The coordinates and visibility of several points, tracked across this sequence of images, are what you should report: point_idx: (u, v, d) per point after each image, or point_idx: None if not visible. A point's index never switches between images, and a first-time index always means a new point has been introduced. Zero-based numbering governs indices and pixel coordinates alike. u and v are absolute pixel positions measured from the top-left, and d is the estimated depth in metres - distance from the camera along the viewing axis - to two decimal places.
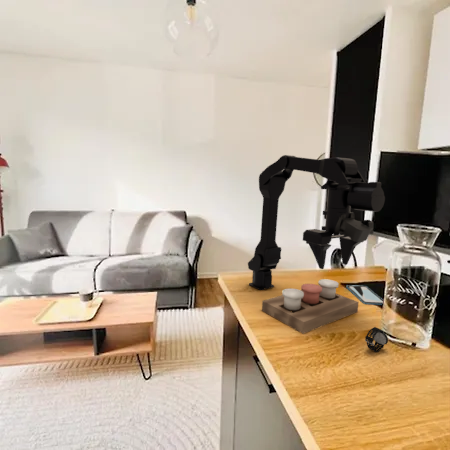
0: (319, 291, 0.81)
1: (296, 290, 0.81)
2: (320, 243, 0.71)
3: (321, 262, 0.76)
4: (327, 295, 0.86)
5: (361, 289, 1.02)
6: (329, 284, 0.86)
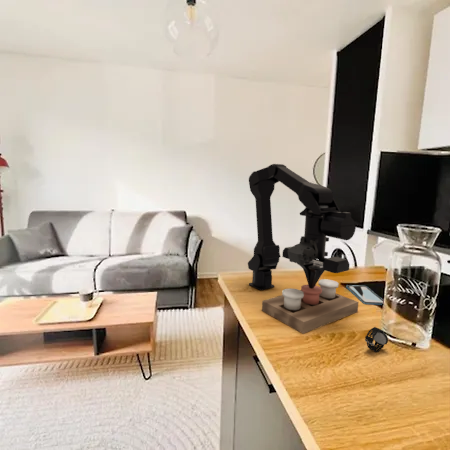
0: (319, 292, 0.82)
1: (296, 290, 0.81)
2: None
3: None
4: (327, 295, 0.86)
5: (361, 289, 1.02)
6: (329, 284, 0.86)
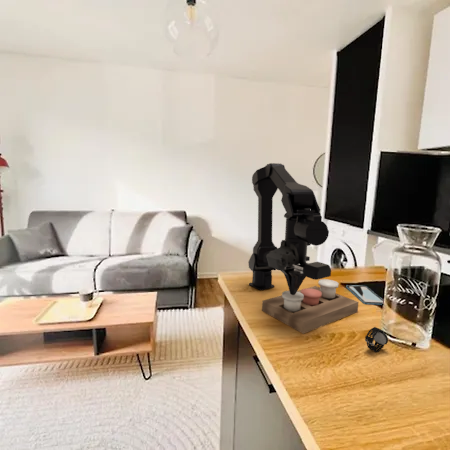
0: (319, 296, 0.82)
1: (296, 292, 0.81)
2: (263, 260, 0.84)
3: None
4: (327, 295, 0.86)
5: (361, 289, 1.02)
6: (329, 284, 0.86)
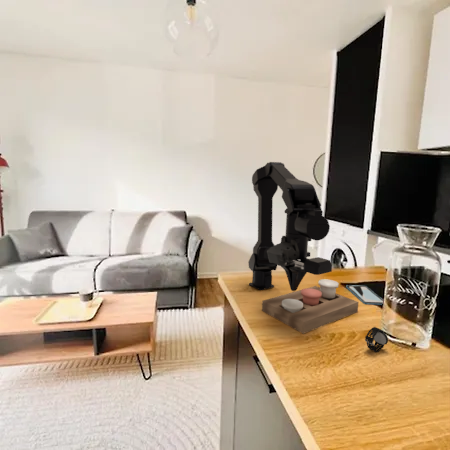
0: (319, 296, 0.82)
1: (295, 300, 0.81)
2: (264, 256, 0.84)
3: None
4: (327, 295, 0.86)
5: (361, 289, 1.02)
6: (329, 284, 0.86)
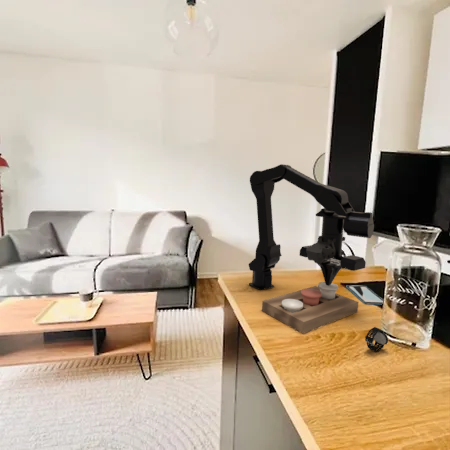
0: (319, 296, 0.82)
1: (295, 300, 0.81)
2: None
3: None
4: (327, 298, 0.87)
5: (361, 289, 1.02)
6: (329, 287, 0.86)
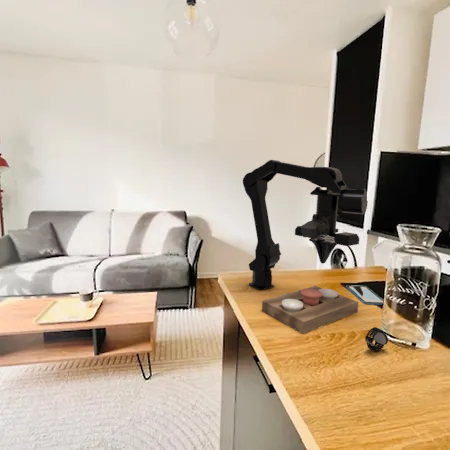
0: (319, 296, 0.82)
1: (295, 300, 0.81)
2: None
3: None
4: None
5: (361, 289, 1.02)
6: (328, 294, 0.87)
